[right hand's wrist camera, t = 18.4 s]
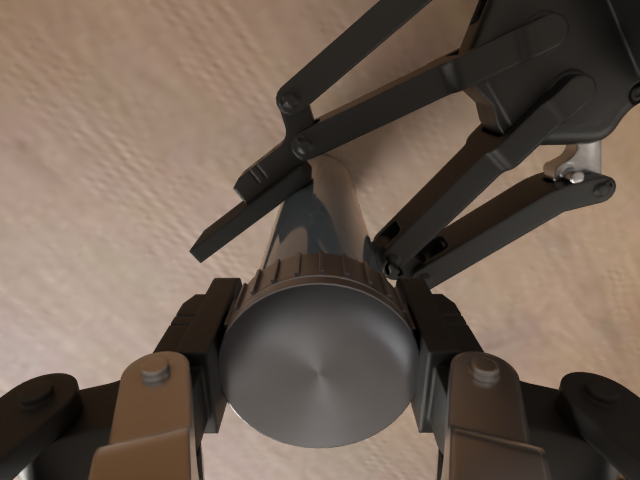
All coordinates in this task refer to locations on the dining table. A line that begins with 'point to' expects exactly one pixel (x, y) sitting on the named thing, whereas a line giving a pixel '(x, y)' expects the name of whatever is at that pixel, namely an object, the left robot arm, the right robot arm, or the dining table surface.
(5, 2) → the dining table surface
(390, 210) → the dining table surface
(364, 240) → the grey cylinder
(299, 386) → the lid
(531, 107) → the left robot arm
